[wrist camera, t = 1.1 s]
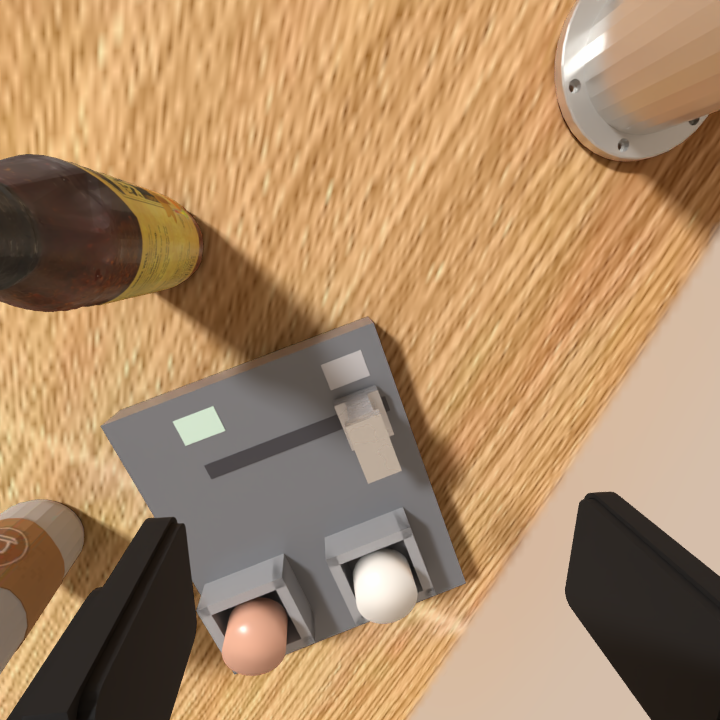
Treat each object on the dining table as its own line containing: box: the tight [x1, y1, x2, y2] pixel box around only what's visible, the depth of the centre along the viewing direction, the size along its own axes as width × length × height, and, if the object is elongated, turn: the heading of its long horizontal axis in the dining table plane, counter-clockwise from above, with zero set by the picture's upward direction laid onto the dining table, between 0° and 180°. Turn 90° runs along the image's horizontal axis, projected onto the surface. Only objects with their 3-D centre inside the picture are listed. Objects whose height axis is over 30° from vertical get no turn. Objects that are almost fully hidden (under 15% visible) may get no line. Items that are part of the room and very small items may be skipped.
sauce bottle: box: [0, 154, 203, 312], centre depth 19 cm, size 7×6×20 cm
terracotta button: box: [222, 597, 288, 676], centre depth 30 cm, size 4×4×2 cm
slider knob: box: [333, 385, 402, 484], centre depth 27 cm, size 3×4×6 cm
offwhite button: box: [353, 548, 418, 624], centre depth 30 cm, size 4×4×2 cm
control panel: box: [101, 316, 466, 674], centre depth 32 cm, size 20×24×6 cm
